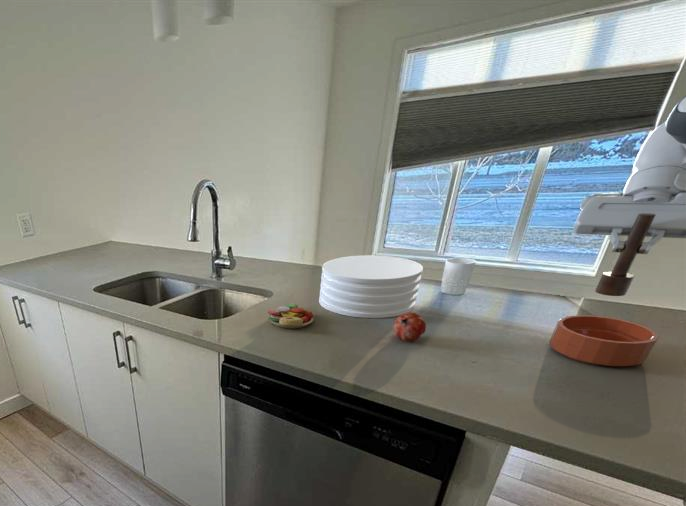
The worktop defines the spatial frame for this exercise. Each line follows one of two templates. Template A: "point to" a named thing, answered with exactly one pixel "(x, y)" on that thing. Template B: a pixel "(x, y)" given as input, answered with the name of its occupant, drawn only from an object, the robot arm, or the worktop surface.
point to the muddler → (625, 259)
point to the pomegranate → (409, 327)
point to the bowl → (603, 340)
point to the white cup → (457, 275)
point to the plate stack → (370, 286)
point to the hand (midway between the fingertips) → (629, 251)
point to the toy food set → (291, 316)
